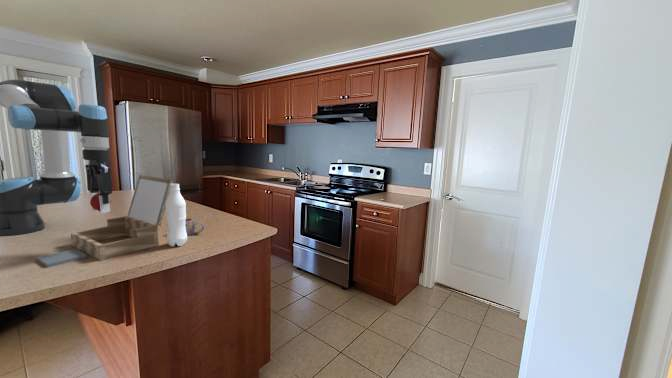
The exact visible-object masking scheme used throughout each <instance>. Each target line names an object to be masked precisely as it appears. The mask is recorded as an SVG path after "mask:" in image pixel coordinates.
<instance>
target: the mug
mask: <svg viewBox="0 0 672 378" xmlns="http://www.w3.org/2000/svg"><path fill="white" fill-rule="evenodd" d="M197 224H200V225H201V229H200V230H195V229H197ZM185 227H186V233H187V236H190V235H191V234H192V235H197V234H201V233H202V232H203V231H204V229H205V225H204V223H203V222H201V221H197V222H196V221H194V220H193V218H186V221H185Z"/></svg>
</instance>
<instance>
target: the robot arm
mask: <svg viewBox="0 0 672 378" xmlns="http://www.w3.org/2000/svg"><path fill="white" fill-rule="evenodd" d="M0 106H1V107H3V108H5V109H7V118H8V119H7V120H8V122H9V125H10V126H11V127H12V128H14V129H22V130H26V131H27V130H28V131H29V130H34V131H37V130H38V131H40V132H41V143H42V156H43V157H42V158H43V166H44V169H43V170H44V172H42V173H41V174H40V175H39V177H40V178H39V179H35V178H34V177H33V176H20V177H19V176H18V177H12V178H5V179H0V236H16V235H23V234H29V233H36V232H38V231H41V230H43V229H45V228H46V225H45V224H46V223H45V220H43V218H42V216H41V215H40V213H39V210H38V206H43V205H52V204H53V205H54V204H62V203H63V204H65V203H70V202H75V201H77V200H78V199H79V198H80V196H81V193H82V183H81V180H80V178H79V177H77V176H76V174H75V173H73V172H72V171H71V161H70V159H71V158H70V148H69V147H70V146H69V132H71V133H73V132H74V133H80V138H81V139H79V142H81V147H82V148H83V149H82V159H83V160H84V161H88V164H85V165H84V168H85V172H86V185H87V186H86V187H87V188H86V189H87V192H88V191H89V193H90V197H91V198H92V197H93V196H94V195H95V194H97V193H98V192H99V191H100V194H98V196H99V201H100V211H99V212H100V214H104V213H109V212H111V206H110V205H111V204H110V202H109V198H110V195H111V194H113V187H112V179H111V166H107V164H106V161H109V160H111V155H110V154H111V153H110V150H109V149H110V142H109V141H110V137H109V130H108V129H109V128H108V115H107V110H106V108H105V107H104V106H101V105H95V104H79V105H78V108H77V102H76V99H75V96H74V94H73V93H72V91H71V90H70V89H69V88H67V87H66V86H61V85H57V84H50V83H44V82H43V83H42V82H37V81H32V80H31V81H30V80H25V79H5V80H2V81H0ZM77 109H78V111H77ZM91 198H90V199H91ZM91 210H92V211H97V210H96V209H94V208H93V207H92V206H91Z"/></svg>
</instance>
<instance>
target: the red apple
mask: <svg viewBox="0 0 672 378" xmlns="http://www.w3.org/2000/svg"><path fill="white" fill-rule="evenodd" d="M98 194H100V191H99V192H98V193H97V194H95V195H94V196H93V197H92V198H90V202H89V203H90V206H91V208H92V207H93V208H94V209H96V210H95V211H99V212H100V201H99V196H98ZM111 201H112V200H111V198H110V197H109V202H110V205H111Z"/></svg>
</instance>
